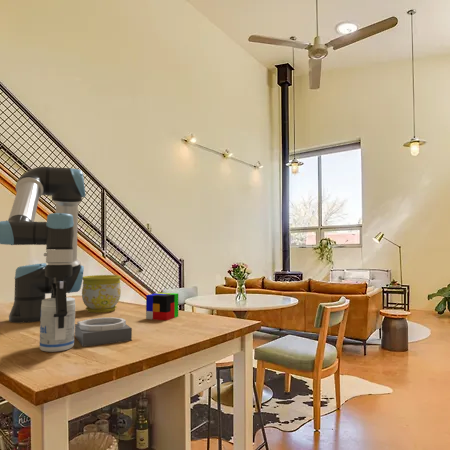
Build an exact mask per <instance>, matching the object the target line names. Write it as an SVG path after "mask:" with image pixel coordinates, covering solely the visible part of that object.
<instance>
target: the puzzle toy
mask: <svg viewBox="0 0 450 450" xmlns="http://www.w3.org/2000/svg"><path fill="white" fill-rule="evenodd" d="M145 296H146V297H145V298H146V299H145V300H146V301H145V319H146V320H154V321H155V320H157V321H170V320H172V319H175V318H177V317H179V293H174V292H173V293H171V292H155V293H151V294H147V295H145Z"/></svg>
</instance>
